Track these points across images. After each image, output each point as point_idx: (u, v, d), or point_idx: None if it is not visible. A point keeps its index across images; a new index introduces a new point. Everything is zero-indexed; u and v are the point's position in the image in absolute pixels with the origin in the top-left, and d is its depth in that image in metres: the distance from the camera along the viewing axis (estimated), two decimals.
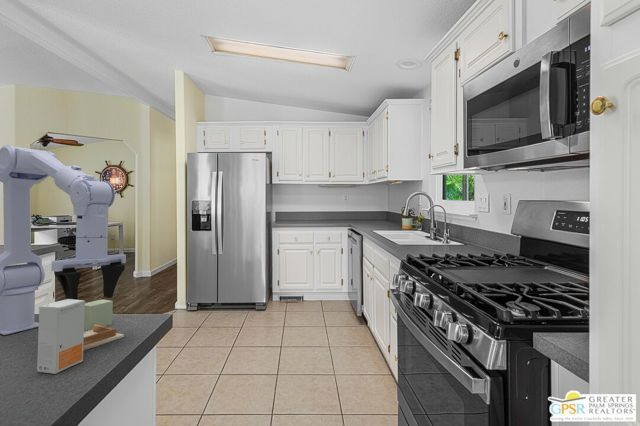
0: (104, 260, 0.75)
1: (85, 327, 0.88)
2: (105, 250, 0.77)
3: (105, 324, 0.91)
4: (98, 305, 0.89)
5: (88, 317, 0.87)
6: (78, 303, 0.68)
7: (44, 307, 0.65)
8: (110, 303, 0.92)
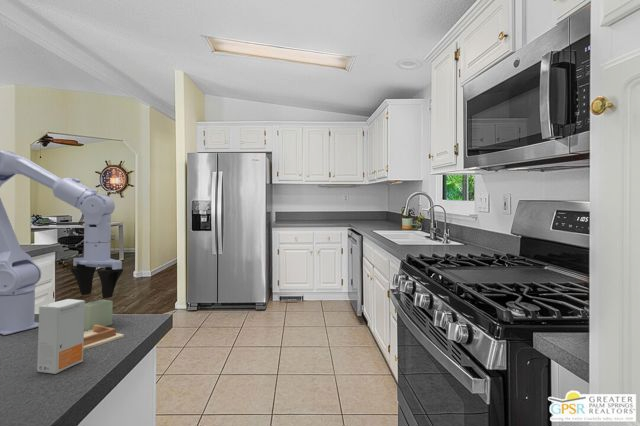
0: (82, 262, 0.87)
1: (85, 327, 0.88)
2: (91, 254, 0.88)
3: (105, 324, 0.91)
4: (98, 305, 0.89)
5: (88, 317, 0.87)
6: (78, 303, 0.68)
7: (44, 307, 0.65)
8: (110, 303, 0.92)
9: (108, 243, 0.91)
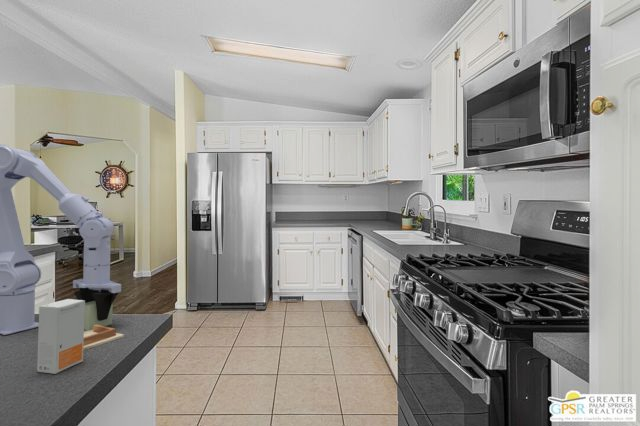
0: (81, 286, 0.87)
1: (85, 327, 0.88)
2: (91, 277, 0.88)
3: (105, 324, 0.91)
4: None
5: (88, 317, 0.87)
6: (78, 303, 0.68)
7: (44, 307, 0.65)
8: None
9: (108, 266, 0.91)
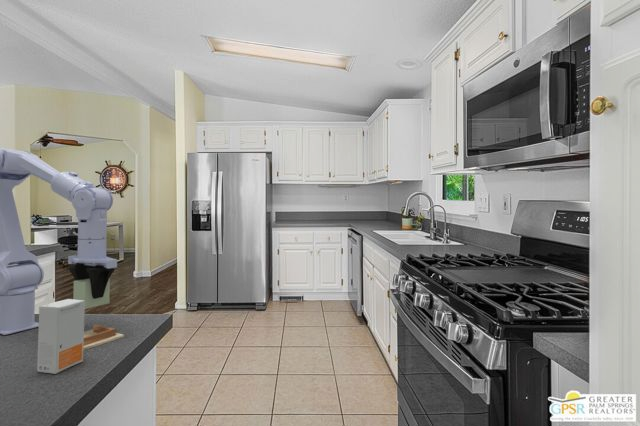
0: (75, 260, 0.81)
1: None
2: (85, 252, 0.82)
3: (102, 302, 0.85)
4: None
5: (83, 294, 0.81)
6: (78, 303, 0.68)
7: (44, 307, 0.65)
8: None
9: (103, 240, 0.84)
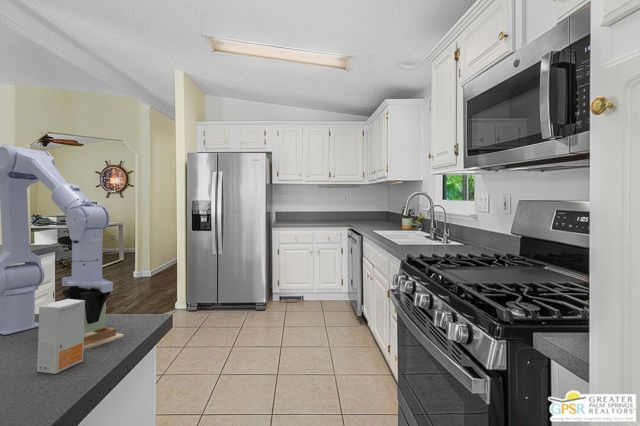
0: (68, 284, 0.76)
1: None
2: (79, 274, 0.77)
3: (97, 327, 0.80)
4: None
5: None
6: (78, 303, 0.68)
7: (44, 307, 0.65)
8: None
9: (99, 261, 0.80)
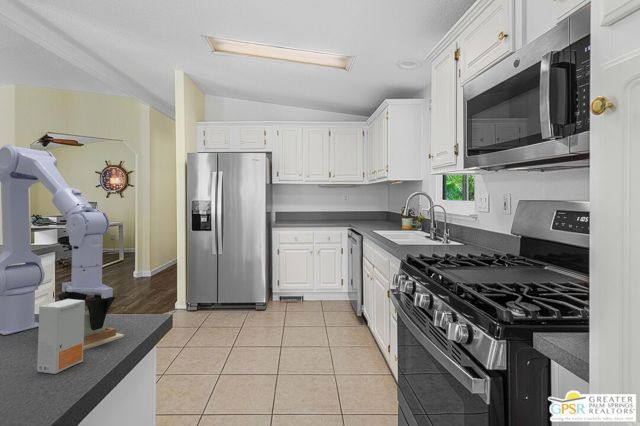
0: (68, 290, 0.76)
1: None
2: (79, 280, 0.77)
3: None
4: (89, 315, 0.79)
5: None
6: (78, 303, 0.68)
7: (44, 307, 0.65)
8: None
9: (99, 267, 0.80)
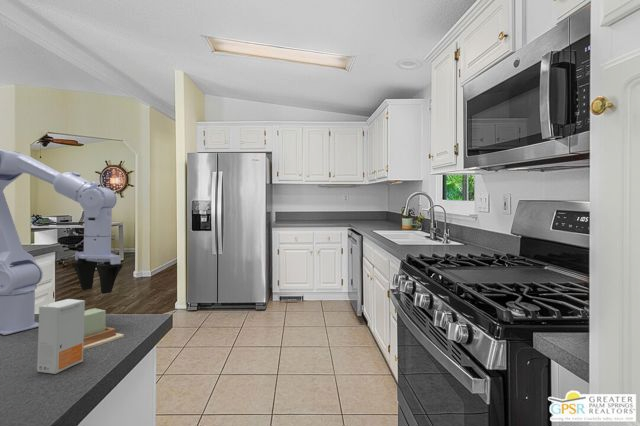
0: (81, 256, 0.85)
1: None
2: (90, 248, 0.86)
3: None
4: (89, 315, 0.79)
5: None
6: (78, 303, 0.68)
7: (44, 307, 0.65)
8: (103, 313, 0.81)
9: (108, 237, 0.88)
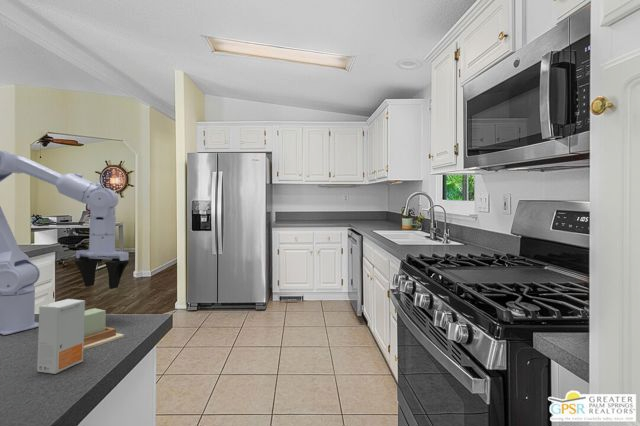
0: (89, 254, 0.89)
1: None
2: (98, 246, 0.90)
3: None
4: (89, 315, 0.79)
5: None
6: (78, 303, 0.68)
7: (44, 307, 0.65)
8: (103, 313, 0.81)
9: (114, 235, 0.93)
